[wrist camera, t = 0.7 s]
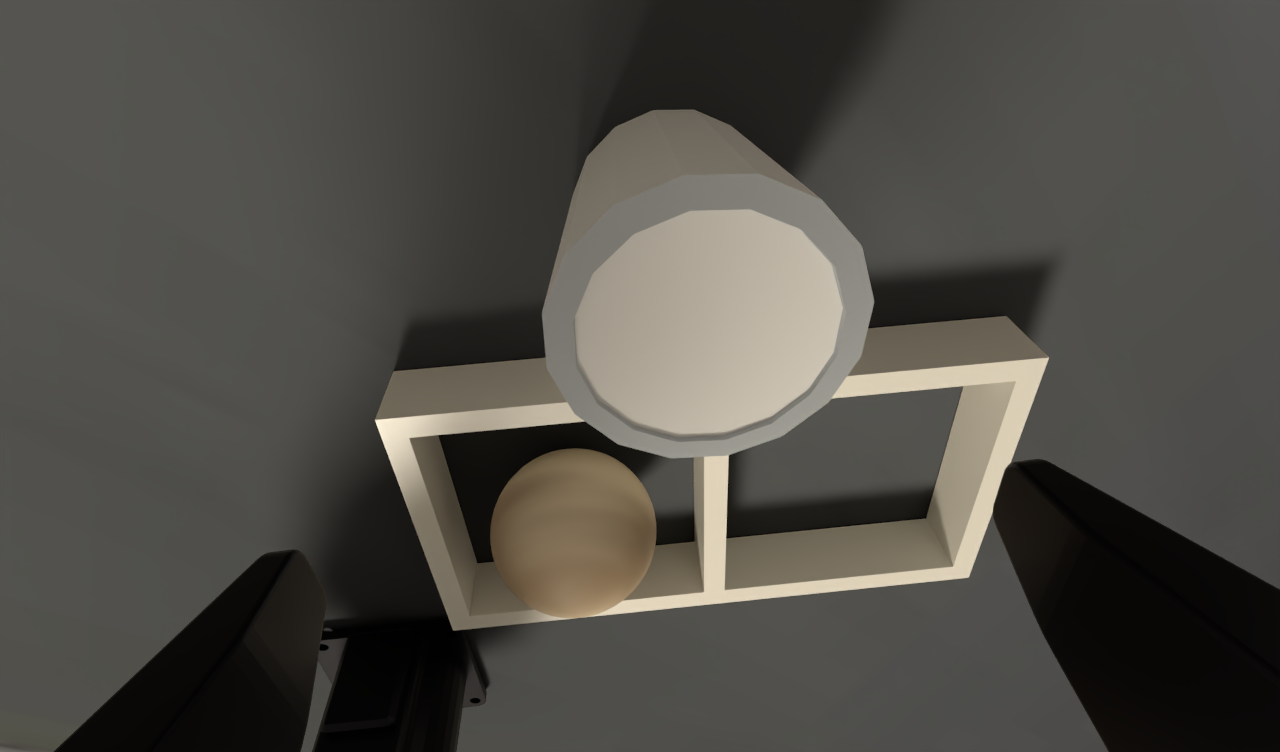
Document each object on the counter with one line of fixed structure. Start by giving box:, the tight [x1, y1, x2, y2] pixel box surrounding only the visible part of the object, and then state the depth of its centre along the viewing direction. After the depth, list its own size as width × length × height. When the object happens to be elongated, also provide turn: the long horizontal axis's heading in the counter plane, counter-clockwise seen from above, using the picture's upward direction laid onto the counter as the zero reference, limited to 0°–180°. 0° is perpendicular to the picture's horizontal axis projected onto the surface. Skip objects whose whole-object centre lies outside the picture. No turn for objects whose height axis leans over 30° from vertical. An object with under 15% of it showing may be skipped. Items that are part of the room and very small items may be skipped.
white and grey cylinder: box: [542, 110, 874, 458], centre depth 17 cm, size 7×7×7 cm
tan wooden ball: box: [490, 448, 657, 618], centre depth 23 cm, size 6×6×6 cm
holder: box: [375, 316, 1049, 631], centre depth 24 cm, size 11×20×2 cm, turn 93°
